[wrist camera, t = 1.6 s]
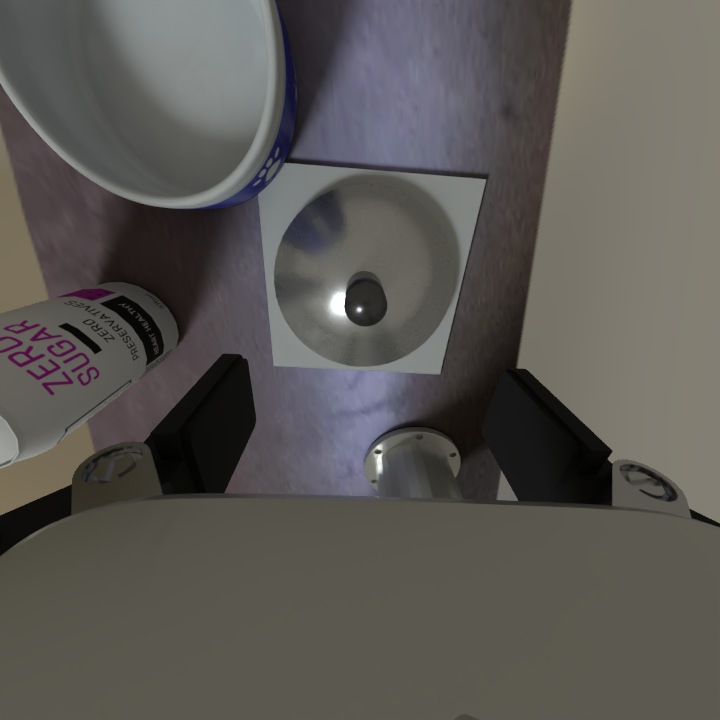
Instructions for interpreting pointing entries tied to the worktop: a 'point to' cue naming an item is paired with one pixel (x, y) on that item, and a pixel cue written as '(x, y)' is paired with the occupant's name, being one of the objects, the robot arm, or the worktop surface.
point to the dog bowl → (156, 93)
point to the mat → (436, 193)
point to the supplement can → (74, 361)
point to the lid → (364, 275)
